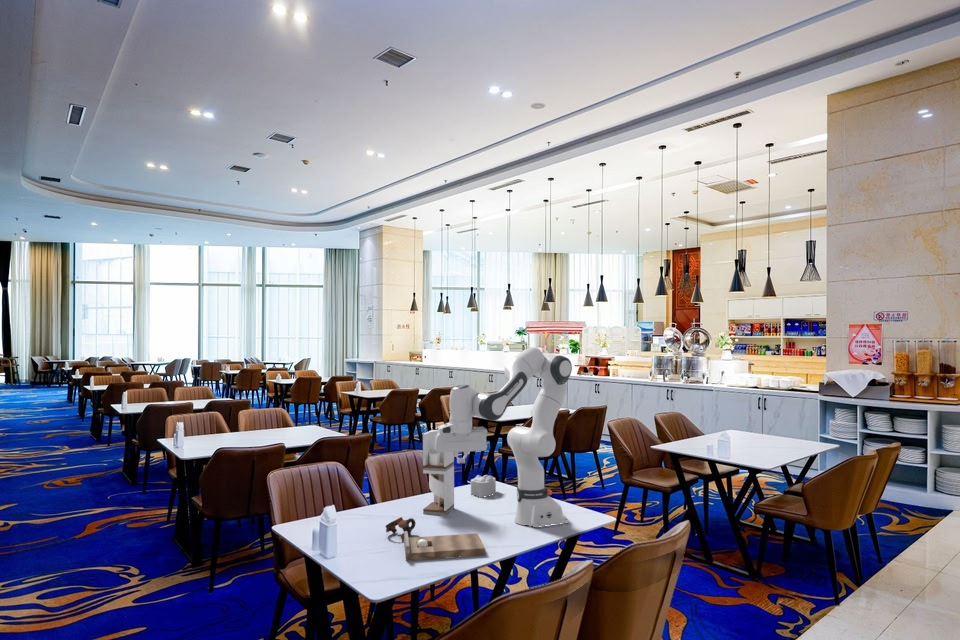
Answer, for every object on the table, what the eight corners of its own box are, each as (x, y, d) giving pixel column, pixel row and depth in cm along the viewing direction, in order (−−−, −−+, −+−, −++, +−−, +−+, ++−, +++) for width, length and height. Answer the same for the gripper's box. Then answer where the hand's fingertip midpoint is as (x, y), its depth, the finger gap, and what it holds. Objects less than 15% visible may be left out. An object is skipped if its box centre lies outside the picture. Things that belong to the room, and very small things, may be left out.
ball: (428, 538, 212) (417, 536, 211) (429, 542, 208) (418, 540, 207) (426, 549, 212) (415, 547, 211) (427, 553, 208) (416, 551, 207)
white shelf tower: (432, 506, 266) (431, 430, 267) (454, 508, 263) (453, 431, 264) (423, 513, 255) (422, 434, 256) (446, 515, 252) (445, 435, 253)
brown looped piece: (396, 544, 219) (387, 523, 221) (388, 548, 226) (380, 528, 228) (423, 529, 226) (413, 510, 228) (414, 534, 233) (405, 515, 235)
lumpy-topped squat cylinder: (467, 494, 285) (467, 477, 286) (485, 489, 295) (485, 472, 295) (483, 498, 279) (483, 480, 279) (500, 492, 288) (500, 475, 289)
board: (477, 539, 221) (477, 526, 221) (485, 555, 205) (484, 541, 206) (404, 544, 216) (404, 531, 217) (406, 560, 201) (405, 546, 201)
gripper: (485, 425, 228) (486, 460, 228) (434, 426, 225) (434, 462, 224) (488, 427, 222) (488, 463, 222) (435, 429, 219) (435, 465, 218)
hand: (461, 463), depth 223 cm, fingers closed
